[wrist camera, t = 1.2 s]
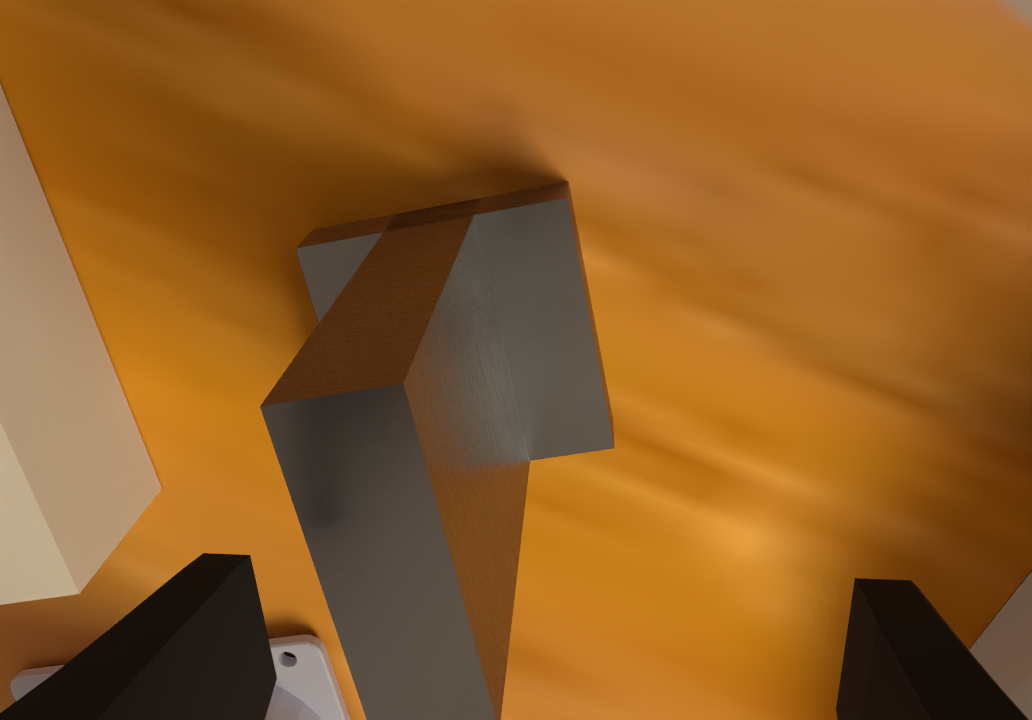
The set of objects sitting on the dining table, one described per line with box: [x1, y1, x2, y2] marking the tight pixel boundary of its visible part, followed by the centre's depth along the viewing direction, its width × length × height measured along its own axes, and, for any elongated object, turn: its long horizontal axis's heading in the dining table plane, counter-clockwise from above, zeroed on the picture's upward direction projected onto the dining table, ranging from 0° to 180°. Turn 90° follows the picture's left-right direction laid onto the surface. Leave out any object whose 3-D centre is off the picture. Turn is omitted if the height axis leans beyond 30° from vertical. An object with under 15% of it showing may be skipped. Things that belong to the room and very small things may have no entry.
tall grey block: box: [260, 182, 614, 720], centre depth 18 cm, size 6×6×10 cm
